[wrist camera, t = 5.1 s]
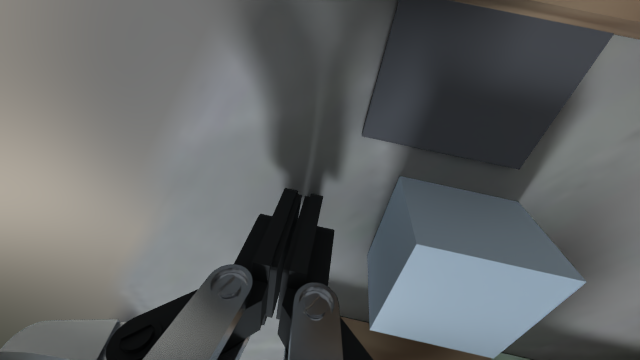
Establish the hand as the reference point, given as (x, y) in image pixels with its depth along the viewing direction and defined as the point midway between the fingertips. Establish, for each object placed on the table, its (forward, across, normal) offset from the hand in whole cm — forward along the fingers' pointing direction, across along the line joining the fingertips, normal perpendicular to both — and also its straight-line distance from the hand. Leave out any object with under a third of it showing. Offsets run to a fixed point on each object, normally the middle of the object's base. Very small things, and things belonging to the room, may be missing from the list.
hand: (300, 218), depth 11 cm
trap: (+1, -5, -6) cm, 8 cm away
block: (+1, -6, 0) cm, 6 cm away
